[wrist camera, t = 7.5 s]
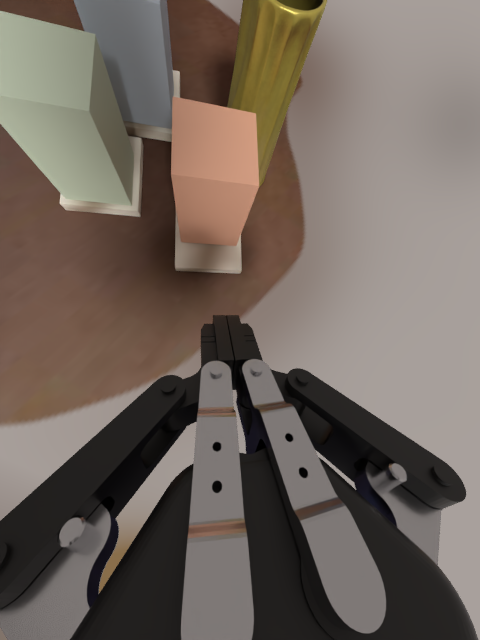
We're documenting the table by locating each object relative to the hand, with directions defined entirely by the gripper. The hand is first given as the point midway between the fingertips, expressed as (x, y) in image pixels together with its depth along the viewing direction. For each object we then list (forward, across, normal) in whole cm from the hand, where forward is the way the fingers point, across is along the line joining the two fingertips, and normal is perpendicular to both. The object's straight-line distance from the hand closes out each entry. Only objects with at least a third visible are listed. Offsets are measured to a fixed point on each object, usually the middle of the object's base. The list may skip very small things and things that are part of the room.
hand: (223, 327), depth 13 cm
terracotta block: (+16, 0, -3) cm, 16 cm away
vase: (+22, -4, -7) cm, 24 cm away
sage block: (+18, +11, -5) cm, 22 cm away
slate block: (+25, +7, -13) cm, 29 cm away
